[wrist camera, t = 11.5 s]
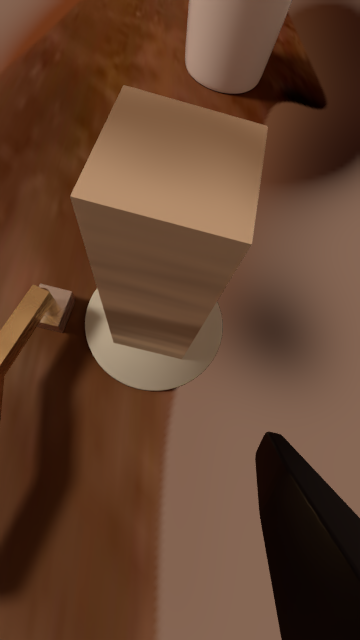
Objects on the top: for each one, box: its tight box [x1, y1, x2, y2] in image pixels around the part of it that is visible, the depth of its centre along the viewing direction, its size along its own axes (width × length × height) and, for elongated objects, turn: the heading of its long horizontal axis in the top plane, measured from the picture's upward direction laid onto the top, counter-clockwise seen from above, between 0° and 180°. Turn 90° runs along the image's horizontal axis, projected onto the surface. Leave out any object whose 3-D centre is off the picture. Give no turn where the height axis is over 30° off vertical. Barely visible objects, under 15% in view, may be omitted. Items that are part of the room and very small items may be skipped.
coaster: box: [85, 289, 223, 391], centre depth 19 cm, size 9×9×1 cm
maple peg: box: [70, 85, 268, 359], centre depth 13 cm, size 4×4×12 cm
